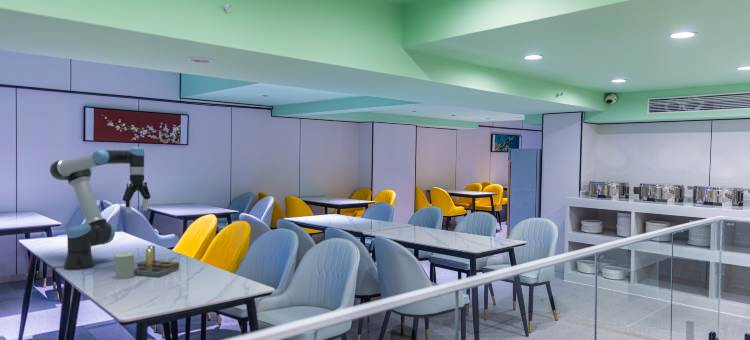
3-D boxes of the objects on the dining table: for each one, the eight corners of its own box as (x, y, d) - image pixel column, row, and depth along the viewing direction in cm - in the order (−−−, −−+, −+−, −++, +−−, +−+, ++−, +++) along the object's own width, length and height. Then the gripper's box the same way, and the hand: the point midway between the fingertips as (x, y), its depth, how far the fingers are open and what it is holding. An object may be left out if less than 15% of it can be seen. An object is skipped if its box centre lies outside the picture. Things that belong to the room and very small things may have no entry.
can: (135, 273, 283) (134, 251, 282) (133, 277, 275) (132, 255, 274) (116, 274, 281) (115, 252, 280) (114, 279, 272) (113, 256, 271)
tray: (129, 274, 281) (129, 270, 281) (140, 271, 290) (140, 266, 290) (158, 277, 277) (158, 272, 277) (169, 273, 285) (169, 269, 285)
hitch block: (137, 270, 292) (137, 263, 291) (148, 267, 300) (148, 260, 300) (168, 273, 287) (168, 265, 287) (178, 269, 295) (178, 262, 295)
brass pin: (144, 273, 282) (144, 249, 282) (148, 272, 286) (149, 248, 285) (150, 274, 281) (150, 249, 281) (154, 272, 285) (154, 248, 284)
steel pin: (146, 269, 293) (146, 246, 293) (150, 268, 297) (150, 245, 296) (152, 270, 292) (152, 247, 292) (156, 268, 296) (156, 246, 295)
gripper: (127, 175, 285) (127, 214, 286) (157, 173, 309) (156, 209, 310) (115, 175, 287) (115, 213, 288) (146, 173, 311) (146, 209, 312)
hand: (137, 211), depth 299 cm, fingers open, 13 cm apart
